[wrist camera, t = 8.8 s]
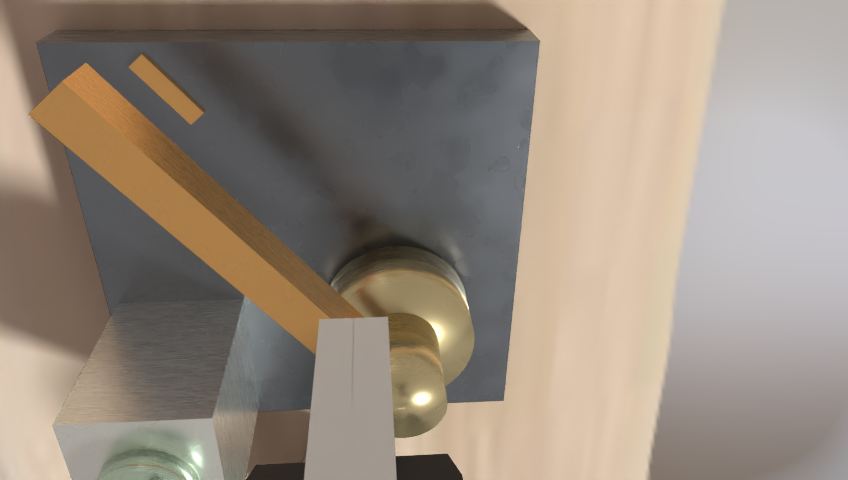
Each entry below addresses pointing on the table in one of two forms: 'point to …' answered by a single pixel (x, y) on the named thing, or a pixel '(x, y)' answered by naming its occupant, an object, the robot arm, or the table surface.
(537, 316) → the table surface
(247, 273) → the door handle
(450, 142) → the levelling base
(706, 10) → the table surface
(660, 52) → the table surface
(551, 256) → the table surface
